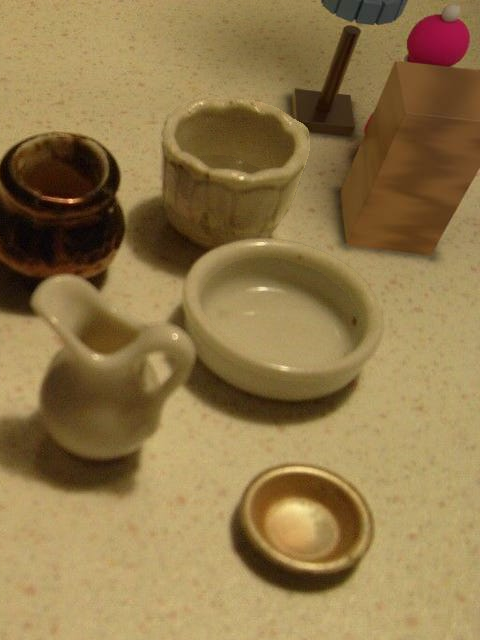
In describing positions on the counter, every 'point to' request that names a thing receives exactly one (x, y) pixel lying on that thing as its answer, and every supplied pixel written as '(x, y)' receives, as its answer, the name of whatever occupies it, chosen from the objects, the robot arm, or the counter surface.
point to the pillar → (414, 159)
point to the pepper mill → (437, 40)
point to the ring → (366, 10)
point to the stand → (329, 94)
